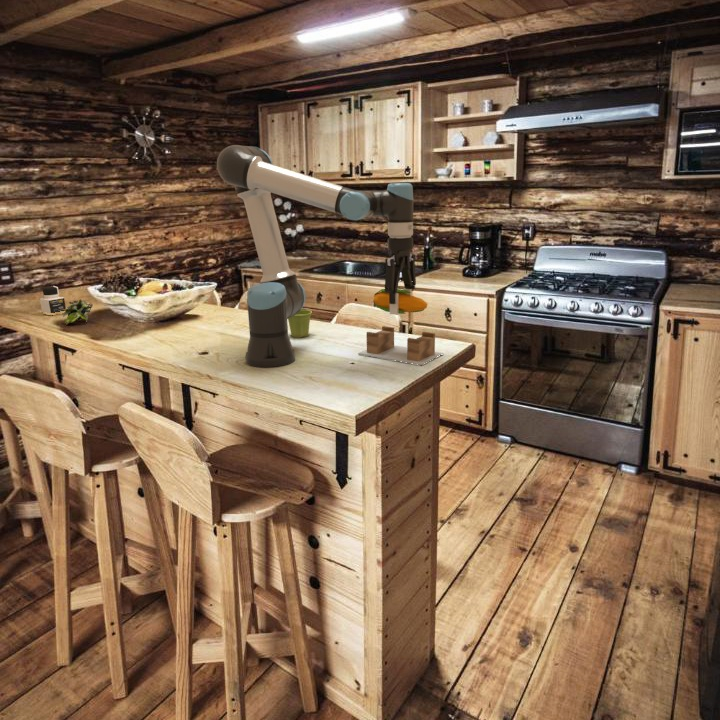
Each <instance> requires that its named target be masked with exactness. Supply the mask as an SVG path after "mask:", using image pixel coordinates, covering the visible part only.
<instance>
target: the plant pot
mask: <svg viewBox="0 0 720 720" xmlns="http://www.w3.org/2000/svg"><path fill="white" fill-rule="evenodd" d="M312 313H313V312H312V310H309V309H301V310H300V311H299V312H298V313H297V314H296V315H294V316H292V317H290V318H288V319H287V322H288V327H289V332H290V335H291V337H293V338H298V339H299V338H303V337H308V336H309V330H310V321H311V317H312Z"/></svg>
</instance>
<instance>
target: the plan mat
mask: <svg viewBox="0 0 720 720" xmlns="http://www.w3.org/2000/svg"><path fill="white" fill-rule="evenodd" d="M358 354H359V355H358ZM441 354H443V355H444V352H438V351H435V354H433V355H431V356H429V357H427V358H425V359H423V360H421V361H413V360H407V346H401V345H395V344H394V348H391V349H389V350H386V351H384V352H382V353H379V354H372V353H367V349H365V350H362V351H359V352H358V353H357V355H358V356H361V355H365V356H364V357H367V356H371V357H370V358H373V357H377V358H376V359H378V358H383V359H382V360H384V359H389V360H388V361H390V360H396V361H402V362H407V363H413V364H418V365H422V366H424V365H425V364H424V363H426V362H428V361H430V360H432V359H434V358H436V357H437V356H439V355H441ZM436 359H437V358H436ZM434 360H435V359H434ZM432 361H433V360H432ZM430 362H431V361H430ZM407 363H406V364H407ZM428 363H429V362H428ZM423 364H424V365H423ZM426 364H427V363H426ZM418 365H417V366H418Z"/></svg>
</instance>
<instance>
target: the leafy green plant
mask: <svg viewBox="0 0 720 720" xmlns="http://www.w3.org/2000/svg"><path fill="white" fill-rule="evenodd" d="M68 303H69V305H68V306H67V308H66V309H64V310H65V312H64V313H62V314H61V315H62V317H63V318H64V317H65V316H67V317H66V319H65V321H64V324H65V323H66V324H67V325H68V324H70V323H71V324H72V323H74V322H76V321H75V320H76V319H79V320H82V319H83V320H85V323H86V322H87V323H88V318H89V314H90V313H91V309H92V308H93V305H94V304H93V303H92V302H86V301H84V300H82V299H78V300H75V299H74V300H72V301H69V302H68ZM86 313H87V314H86Z"/></svg>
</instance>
